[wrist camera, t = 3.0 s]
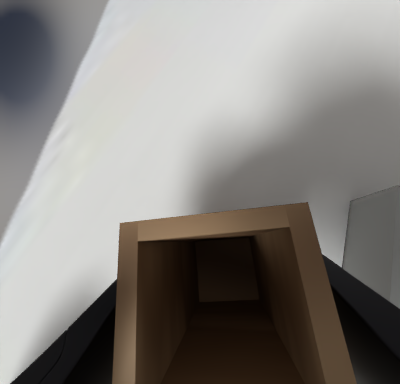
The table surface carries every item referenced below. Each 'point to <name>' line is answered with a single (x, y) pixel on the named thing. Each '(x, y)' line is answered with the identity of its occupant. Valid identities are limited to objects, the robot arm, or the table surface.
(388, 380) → the robot arm
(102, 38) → the table surface
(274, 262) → the small crate
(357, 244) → the grey square tray
